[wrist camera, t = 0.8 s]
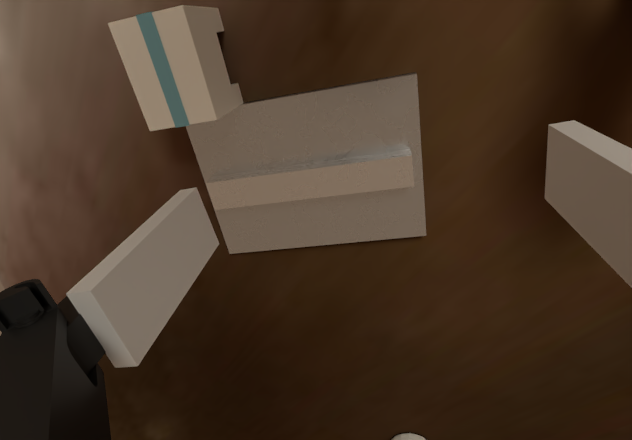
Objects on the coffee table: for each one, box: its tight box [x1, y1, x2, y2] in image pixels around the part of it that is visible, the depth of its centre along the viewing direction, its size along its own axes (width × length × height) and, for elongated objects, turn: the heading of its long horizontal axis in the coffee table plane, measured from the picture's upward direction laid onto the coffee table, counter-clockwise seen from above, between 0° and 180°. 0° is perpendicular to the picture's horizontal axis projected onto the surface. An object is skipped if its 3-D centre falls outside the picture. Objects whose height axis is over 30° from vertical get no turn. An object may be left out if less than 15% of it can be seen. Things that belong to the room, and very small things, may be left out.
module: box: [108, 5, 243, 131], centre depth 31 cm, size 8×6×7 cm
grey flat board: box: [186, 72, 426, 254], centre depth 37 cm, size 16×22×3 cm
